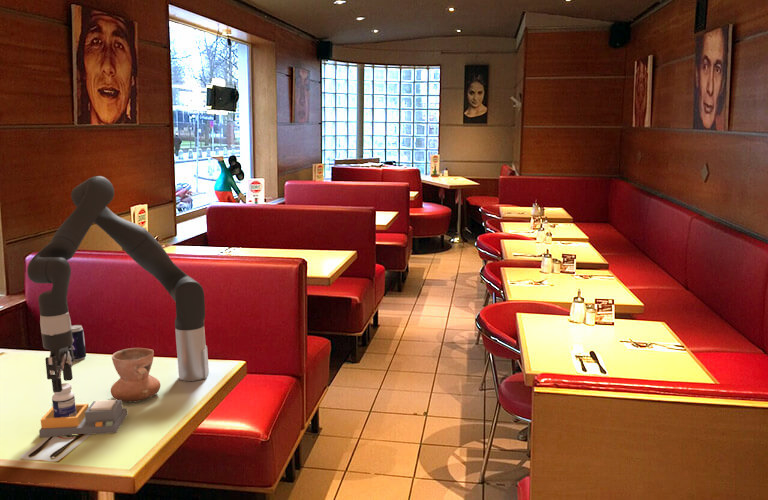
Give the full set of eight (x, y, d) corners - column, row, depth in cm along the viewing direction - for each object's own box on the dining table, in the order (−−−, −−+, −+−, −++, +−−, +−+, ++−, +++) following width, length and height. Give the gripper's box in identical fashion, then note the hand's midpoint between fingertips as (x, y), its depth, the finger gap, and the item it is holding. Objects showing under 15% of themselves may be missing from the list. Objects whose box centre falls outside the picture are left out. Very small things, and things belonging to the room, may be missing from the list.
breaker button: (117, 413, 201) (116, 399, 200) (112, 420, 196) (110, 407, 195) (97, 414, 200) (96, 400, 200) (91, 422, 195) (90, 408, 194)
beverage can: (72, 356, 257) (69, 324, 255) (88, 356, 258) (85, 324, 255) (66, 361, 252) (63, 329, 249) (83, 361, 252) (79, 328, 250)
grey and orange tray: (127, 414, 205) (125, 396, 204) (116, 432, 193) (114, 413, 192) (55, 418, 203) (53, 400, 202) (39, 437, 191) (37, 418, 190)
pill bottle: (54, 418, 198) (50, 384, 196) (76, 414, 201) (72, 381, 199) (55, 426, 193) (51, 391, 191) (77, 421, 196) (74, 387, 194)
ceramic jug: (169, 399, 215) (166, 354, 213) (121, 411, 207) (117, 364, 204) (149, 384, 229) (145, 341, 227) (103, 394, 221) (99, 350, 219)
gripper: (51, 322, 199) (58, 377, 202) (31, 338, 185) (39, 396, 188) (79, 321, 199) (85, 375, 202) (61, 336, 185) (68, 394, 188)
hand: (63, 385), depth 195 cm, fingers open, 8 cm apart
